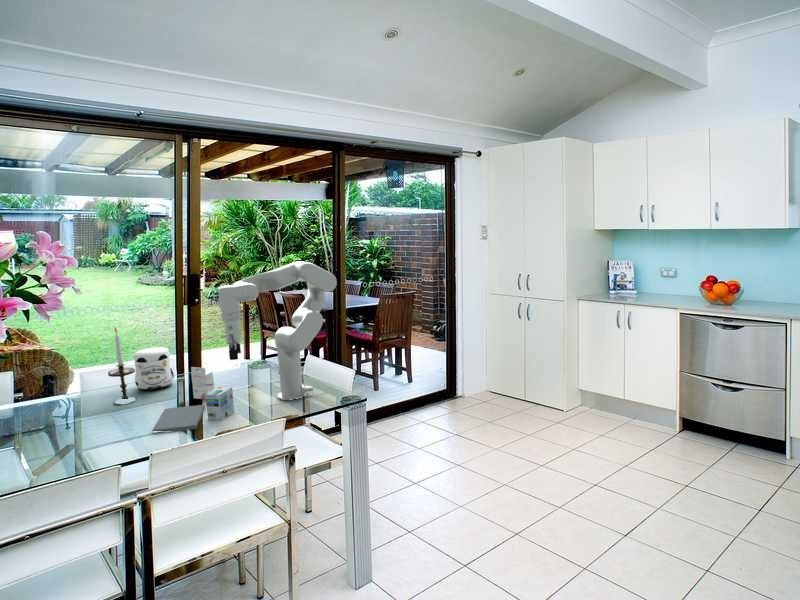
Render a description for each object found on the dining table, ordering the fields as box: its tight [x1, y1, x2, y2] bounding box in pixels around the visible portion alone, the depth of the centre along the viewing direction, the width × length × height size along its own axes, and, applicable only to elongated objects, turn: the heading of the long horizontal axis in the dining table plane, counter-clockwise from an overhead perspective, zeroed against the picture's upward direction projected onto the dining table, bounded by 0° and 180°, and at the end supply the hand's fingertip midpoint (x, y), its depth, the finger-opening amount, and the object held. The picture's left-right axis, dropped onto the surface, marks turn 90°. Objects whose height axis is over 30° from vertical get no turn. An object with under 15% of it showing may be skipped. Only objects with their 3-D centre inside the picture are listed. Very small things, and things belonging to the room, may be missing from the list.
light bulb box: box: [205, 386, 235, 421], centre depth 231 cm, size 11×7×11 cm, turn 168°
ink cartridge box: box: [190, 366, 215, 400], centre depth 255 cm, size 9×5×15 cm, turn 68°
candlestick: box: [107, 325, 136, 399], centre depth 252 cm, size 11×11×35 cm
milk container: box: [133, 347, 175, 391], centre depth 274 cm, size 17×17×18 cm
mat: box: [152, 404, 206, 432], centre depth 229 cm, size 16×24×2 cm, turn 11°
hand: (235, 356), depth 232 cm, fingers open, 9 cm apart
